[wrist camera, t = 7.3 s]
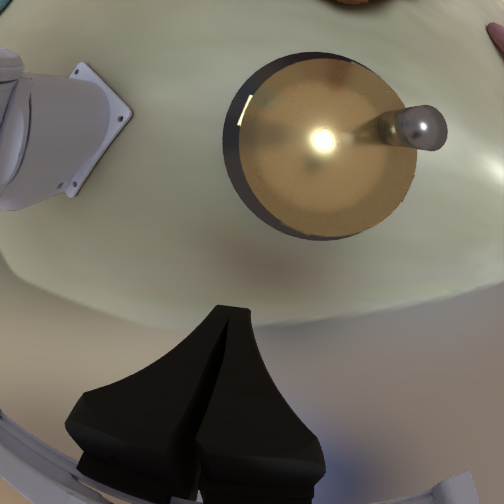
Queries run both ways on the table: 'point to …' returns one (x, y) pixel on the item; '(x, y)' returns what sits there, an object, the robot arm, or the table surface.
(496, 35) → the video game controller
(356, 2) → the pastry
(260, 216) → the base plate
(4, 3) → the sugar bowl
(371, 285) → the table surface
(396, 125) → the round lid with handle
